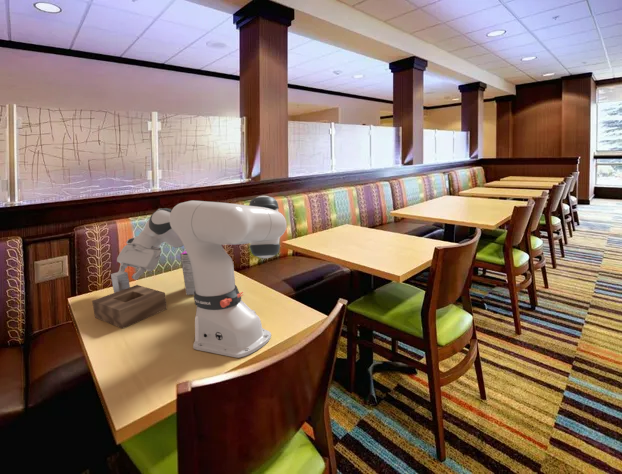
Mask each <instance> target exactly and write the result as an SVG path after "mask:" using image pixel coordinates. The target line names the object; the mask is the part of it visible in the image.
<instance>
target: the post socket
mask: <svg viewBox="0 0 622 474" xmlns="http://www.w3.org/2000/svg"><path fill="white" fill-rule="evenodd" d="M166 298H167V297H166V292H164V291H160V290H156V289H153V288H149V287H146V286H143V285H139V284H136V285H133V286H130V288H127V289H124V290H121V291H118V292H115V293H114V292H113V293H110V294H107V295H105V296H102V297H101V296H100V297H99V298H96V299H93V300H91V302H92V308H93V313H94V314H93V315H94V318H95V319H98V320H100V321H103V322H105V323H108V324H111V325H112V326H116V327H118V328H120V329H125V328H128V327H130V326H132V325H134V324H136V323H139V322H140V321H143V320H145V319H148V318H150V317H152V316H154V315H157V314H159V313H161V312H163V311H165V310H167V309H168V307H167V306H168V305H167V299H166Z"/></svg>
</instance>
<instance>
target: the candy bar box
mask: <svg viewBox="0 0 622 474" xmlns="http://www.w3.org/2000/svg"><path fill="white" fill-rule="evenodd" d="M179 255H180V259H181V260H180V261H181V269H182V274H183V283H184V289H185V295H186V296H194V291H195V285H194V278H193V271H192V266H191V263H190V260H189V257H188V254H187V252H186V250H184V251H182V252H181V253H180V254H179Z"/></svg>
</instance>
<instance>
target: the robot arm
mask: <svg viewBox="0 0 622 474" xmlns="http://www.w3.org/2000/svg"><path fill="white" fill-rule="evenodd" d="M279 209H280V207H279V204H278V200H277V199H275V198H274V197H272V196H268V195H259V196H257V197H254V198H252V199H251V200H250V201H249V205H248V204H247V205H246V204H238V203H229V202H221V201H220V202H219V201H206V200H205V201H204V200H188V201H184V202H180V203H177V204H176V205H175V206H174V207H173V208H167V207H165V208H158V209H157V210H155V211H154V212H153V213H152V214H151V216H150V217H149V219H148V220H147V222H146V223H145V225H144V228H143V229H142V230H141V232H140V233H139V234H138V235H137V236H134V237H131V238H128V239H127V240H126V242H125V244H126V245H124V246H123V248H122V249H121V250H120V252H119V254H118V256H117V257H116V262H117V263H119V264H120V265H119V269H118V271H117V272H120V271H123V272H126V269H127V268H128V267H132V268H136V269H137V271H136V272H135V273H133V274H132V275H131V279H133V280H135V281H137V280H138V279H140V277H141V276H142V275H143V274H145V272H146V271H148V272H152V271H154V270H155V269H156V267H157V265H158V263H159V261H160V259H161V254H162V249H161V246H162V243H166V244H167V245H169V246H170V247H173V248H181V247H184V249H185V250H186V252H187V254H188V257H189V260H190V263H191V266H192V271H193V278H194V285H195V291H194V295H193V300H194V305H195V306H196V313H195V316H194V333H195V334H194V342H193V345H192V347H193V349H194V350H197V351H202V352H206V353H212V354H217V355H222V356H226V357H232V358H235V359H236V358H239V359H240V358H243V357H247V356H249V355H251V354H253V353H254V352H257V351H258V350H259V349H261V348H262V347H264V346H265V345H266V344H268V342H269V341H270V340H271V337H272V333H271V331H269V330H267V329H265V328H264V327H263V326H262V320H261V318H260V316H259V315H257V313H256V311H255V309H251V308H250V307H249V306H248V305H247V304H246V303H245V302H244V301H243V300H242V297H243V296H244V292H243V291H241V292H240V291H239V288H238V286H237V285H236V279H235V278H236V277H235V269H234V268H235V266H234V261H233V259H232V257H231V256H230V255H229V254H228V253H227V252H226V250H225V249H224V247H223V246H226V245H232V246H233V245H245V244H246V245H247V244H250V245H249V248H250V252H251V254H252V255H253V256H254V257H257V258H259V259H260V258H261V259H268V258H272V257H274V256H277V255H278V253H280V249H281V248H280V247H281V244H280V238H281V237H282V236H283V235H284V233H285V232H286V230H287V224H288V223H287V219H286V218H285V216H284V215H283V213H281V212H280V211H279ZM185 250H184V251H185Z"/></svg>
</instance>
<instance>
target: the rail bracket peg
mask: <svg viewBox="0 0 622 474" xmlns="http://www.w3.org/2000/svg"><path fill="white" fill-rule="evenodd" d="M110 277H111V278H110V279H111V282H112V288H113V293H115V292H118V291H121V290H124V289H127V288H130V287H131V286H130V280H129V274H128V272H127V271H124V272H123V271H120V272H118V271H117V272H114V273H110Z"/></svg>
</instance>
